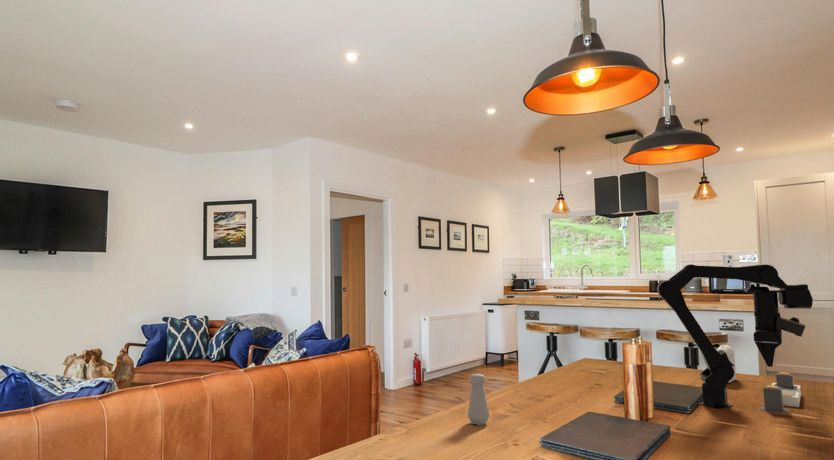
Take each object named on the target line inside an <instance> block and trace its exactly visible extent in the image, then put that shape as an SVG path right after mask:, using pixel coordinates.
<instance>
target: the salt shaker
mask: <svg viewBox="0 0 834 460" xmlns="http://www.w3.org/2000/svg"><path fill="white" fill-rule="evenodd" d="M468 378H469V383H470V384H471V387H470V388H471V389H470V394H469V403H468V411H467V416H468V419H469V421H470V423H471V424H477V425H481V426H484V425H483V424H485V425H486V424H487V423H488V420H489V418H490V411H489V406H488V400H487V396H486V392H485V386H484V384H485V383H486V376H485V375H484V374H482V373H472V374H470V375H469V377H468ZM486 422H487V423H486ZM477 425H476V426H477Z"/></svg>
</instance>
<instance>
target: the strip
mask: <svg viewBox="0 0 834 460" xmlns="http://www.w3.org/2000/svg"><path fill="white" fill-rule="evenodd" d="M775 381H776V382H772V383H771V385H770V386H778V387H782V396H783V406H786V407H793V408H800V404H801V403H800V402H801V397H802V392H801V390H802V389H801V384H800V385H799V384H794V373H790V372H785V371H784V372H783V371H779V372H776V373H775Z"/></svg>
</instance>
